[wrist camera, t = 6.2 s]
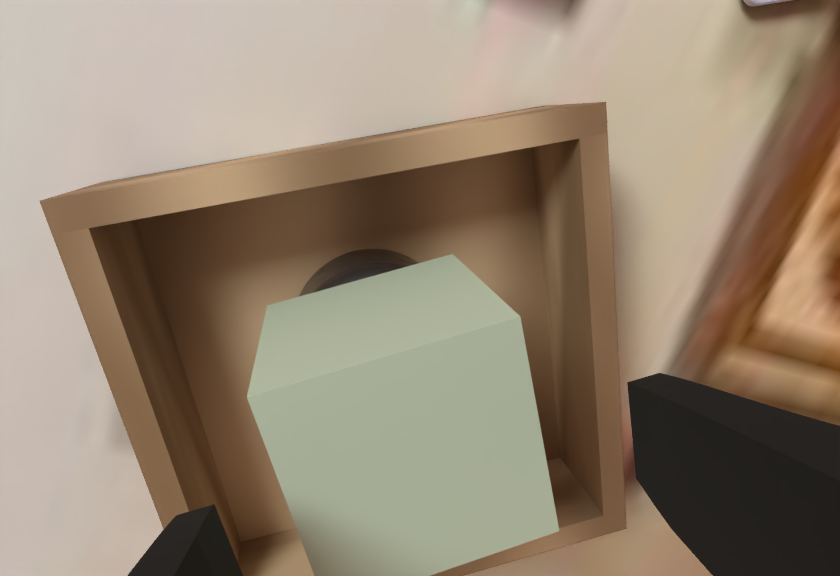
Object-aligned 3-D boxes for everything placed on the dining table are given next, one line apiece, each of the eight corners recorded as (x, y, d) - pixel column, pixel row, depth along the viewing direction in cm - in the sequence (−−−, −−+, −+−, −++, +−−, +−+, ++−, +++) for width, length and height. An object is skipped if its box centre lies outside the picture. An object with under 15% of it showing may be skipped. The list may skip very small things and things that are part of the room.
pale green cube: (452, 254, 15) (520, 316, 10) (487, 413, 16) (559, 531, 12) (267, 305, 14) (246, 397, 9) (322, 465, 16) (327, 611, 11)
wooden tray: (544, 106, 18) (606, 101, 15) (573, 460, 23) (626, 528, 19) (101, 182, 16) (39, 201, 13) (226, 553, 21) (208, 648, 17)
